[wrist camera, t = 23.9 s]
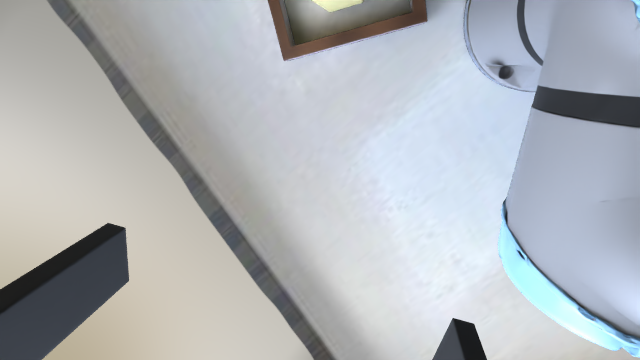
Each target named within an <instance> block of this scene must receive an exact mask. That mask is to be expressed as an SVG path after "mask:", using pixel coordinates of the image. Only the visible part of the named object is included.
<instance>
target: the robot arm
mask: <svg viewBox="0 0 640 360" xmlns="http://www.w3.org/2000/svg"><path fill="white" fill-rule="evenodd" d="M464 37H465V42H466V46H467V49H468V52H469V54H470V56H471V58H472V60H473V62H474V63H475V65H476V66H477V67H478V69H479V70H480V71H481V72H482V73H483V74H484V75H485V76H486V77H488V78H489V79H490V80H492V81H494V82H495V83H497V84H500V85H502V86H504V87H507V88H511V89H515V90H520V91H526V92H536V94H535V97H534V101H533V104H532V107H531V111H530V114H529V118H528V122H527V126H526V130H525V133H524V137H523V140H522V144H521V148H520V151H519V155H518V159H517V162H516V166H515V170H514V173H513V177H512V180H511V184H510V188H509V191H508V195H507V197H506V199H505V200H504V202H503V205H502V209H501V216H502V224H501V229H500V234H499V240H498V251H499V256H500V258H501V259H502V262H503V266H504V268H505V271H506V273H507V275H508V276H509V277H510V279H511V280H512V282H513V283H514V284H515V286H516V287H517V288H518V289H519V290H520V291H521V293H522V294H523V295H524V296H525V297H526V298H527V299H528V300H529V301H531V302H532V303H533V304H534V305H535V306H536V307H538V308H539V309H540V310H541V311H542V312H544V313H545V314H546V315H548V316H549V317H550V318H552V319H553V320H555V321H556V322H557V323H559V324H561V325H562V326H564V327H565V328H567V329H569V330H570V331H572V332H574V333H575V334H577V335H579V336H581V337H583V338H585V339H587V340H589V341H591V342H593V343H595V344H598V345H600V346H603V347H605V348H608V349H610V350H613V351H616V350H619V349H621V348H622V347H623V348H624V349H625V350H626V351H628V352H629V353H630V354H631V355H633V356H635V357H640V0H467V3H466V7H465V13H464ZM128 281H129V274H128V259H127V245H126V230H125V228H124V227H120V226H117V225H114V224H110V223H107V224H106V225H104V226H102V227H101V228H100V229H98V230H96V231H94V232H93V233H91V234H89V235H88V236H86V237H85V238H83V239H81V240H80V241H78V242H76V243H75V244H73V245H72V246H70V247H68V248H67V249H65V250H63V251H62V252H60V253H59V254H57V255H56V256H54V257H52V258H51V259H49V260H47V261H46V262H44V263H42V264H41V265H39V266H38V267H36V268H34V269H33V270H31V271H29V272H28V273H26V274H25V275H23V276H21V277H20V278H18V279H17V280H15V281H13V282H12V283H10V284H8V285H7V286H5V287H4V288H2V289H0V360H42V359H43V358H44V357H45V356H46V355H47V354H48V353H49V352H51V351H52V350H53V349H54V348H55V347H56V346H57V345H58V344H59V343H61V342H62V341H63V340H64V339H65V338H66V337H67V336H68V335H69V334H71V333H72V332H73V331H74V330H75V329H76V328H77V327H78V326H79V325H80V324H82V323H83V322H84V321H85V320H86V319H87V318H88V317H89V316H90V315H92V314H93V313H94V312H95V311H96V310H97V309H98V308H99V307H100V306H102V305H103V304H104V303H105V302H106V301H107V300H108V299H109V298H110V297H112V296H113V295H114V294H115V293H116V292H117V291H118V290H119V289H120V288H121V287H123V286H124V285H125V284H126V283H127V282H128ZM432 360H487V358H486V356H485V353H484V350H483V347H482V345H481V342H480V339H479V336H478V334H477V331H476V328H475V325H474V324H473V323H469V322H466V321H462V320H458V319H455V318H453V319H452V321H451V323H450V325H449V327H448V329H447V331H446V333H445V335H444V337H443V339H442V341H441V343H440V345H439V347H438V349H437V351H436V353H435V355H434V357H433V359H432Z"/></svg>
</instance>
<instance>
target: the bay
mask: <svg viewBox="0 0 640 360" xmlns="http://www.w3.org/2000/svg"><path fill="white" fill-rule="evenodd" d="M268 3H269V6H270V10H271V14H272V18H273V22H274V25H275V29H276V33H277V37H278V40H279V44H280V48H281V52H282V56H283V60H284V61H290V60H293V59H297V58H301V57H304V56H308V55H312V54H315V53H319V52H322V51H326V50H330V49H333V48H337V47H341V46H344V45H348V44H352V43H355V42H359V41H363V40H366V39H370V38H373V37H377V36H381V35H384V34H388V33H392V32H395V31H399V30H403V29H406V28H410V27H413V26H417V25H421V24H424V23H426V22H427V12H426V4H425V0H410V8H411V13H407V14H404V15H400V16H397V17H393V18H390V19H386V20H383V21H379V22H376V23H372V24H369V25H365V26H362V27H358V28H355V29H351V30H348V31H344V32H341V33H337V34H334V35H330V36H327V37H323V38H320V39H316V40H313V41H309V42H306V43H302V44H299V45H295V43H294V39H293V35H292V31H291V27H290V23H289V19H288V15H287V11H286V7H285V3H284V0H268Z"/></svg>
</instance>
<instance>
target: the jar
mask: <svg viewBox="0 0 640 360" xmlns="http://www.w3.org/2000/svg"><path fill="white" fill-rule="evenodd" d="M312 1H313V2H315V3H316V4H318V5H319V6H321V7H322V8H324V9H325V10H327V11H328V12H334V11H337V10H340V9H344V8H347V7H350V6H354V5H357V4H360V3H363V1H364V0H312Z"/></svg>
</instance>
